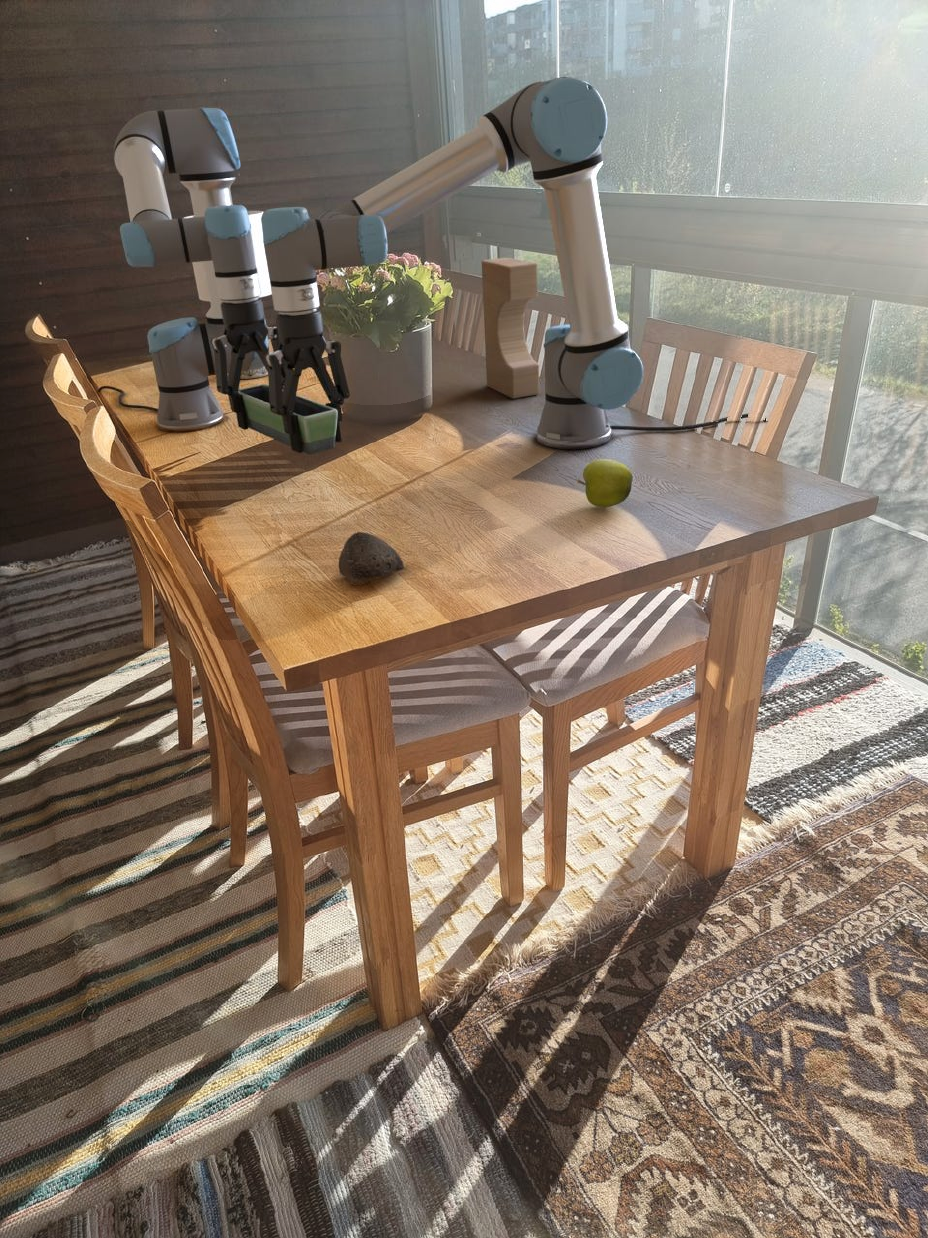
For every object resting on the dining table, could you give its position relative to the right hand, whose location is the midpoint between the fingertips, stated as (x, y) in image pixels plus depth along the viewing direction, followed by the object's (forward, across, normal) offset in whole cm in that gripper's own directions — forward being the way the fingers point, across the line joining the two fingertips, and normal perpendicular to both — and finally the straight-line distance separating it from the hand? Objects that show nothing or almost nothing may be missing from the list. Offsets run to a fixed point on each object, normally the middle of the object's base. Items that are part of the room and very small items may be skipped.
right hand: (316, 445), depth 156 cm
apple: (+10, +32, -39) cm, 52 cm away
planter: (+1, 0, +11) cm, 11 cm away
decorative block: (+10, +72, +30) cm, 79 cm away
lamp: (+10, +37, +102) cm, 109 cm away
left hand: (0, 0, +21) cm, 21 cm away
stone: (+10, -12, -34) cm, 37 cm away
